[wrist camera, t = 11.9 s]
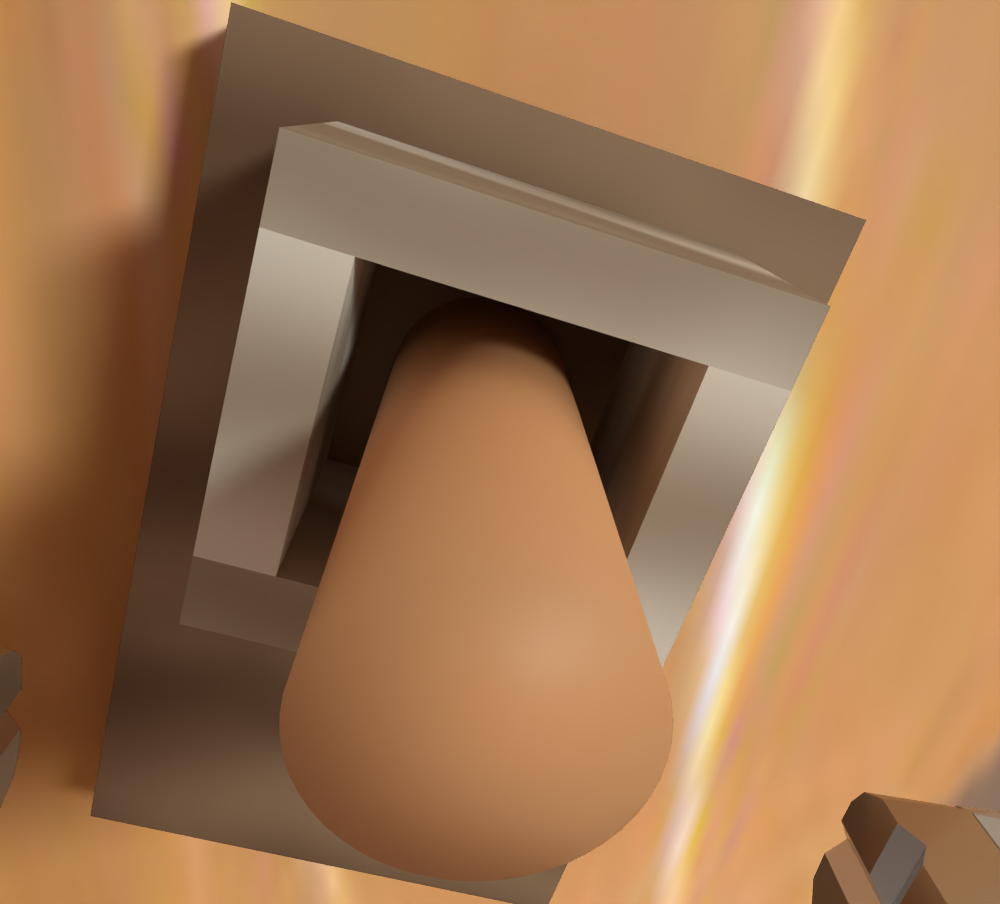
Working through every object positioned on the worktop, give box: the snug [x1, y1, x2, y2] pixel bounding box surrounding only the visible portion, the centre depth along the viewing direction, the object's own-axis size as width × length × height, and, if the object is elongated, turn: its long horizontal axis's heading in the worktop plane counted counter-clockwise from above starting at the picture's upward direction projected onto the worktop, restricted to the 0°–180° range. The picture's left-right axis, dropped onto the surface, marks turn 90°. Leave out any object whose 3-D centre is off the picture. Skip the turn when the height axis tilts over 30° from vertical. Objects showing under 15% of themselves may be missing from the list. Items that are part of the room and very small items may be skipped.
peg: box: [279, 297, 673, 881], centre depth 14 cm, size 4×4×12 cm
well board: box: [91, 2, 866, 904], centre depth 20 cm, size 22×14×8 cm, turn 162°
